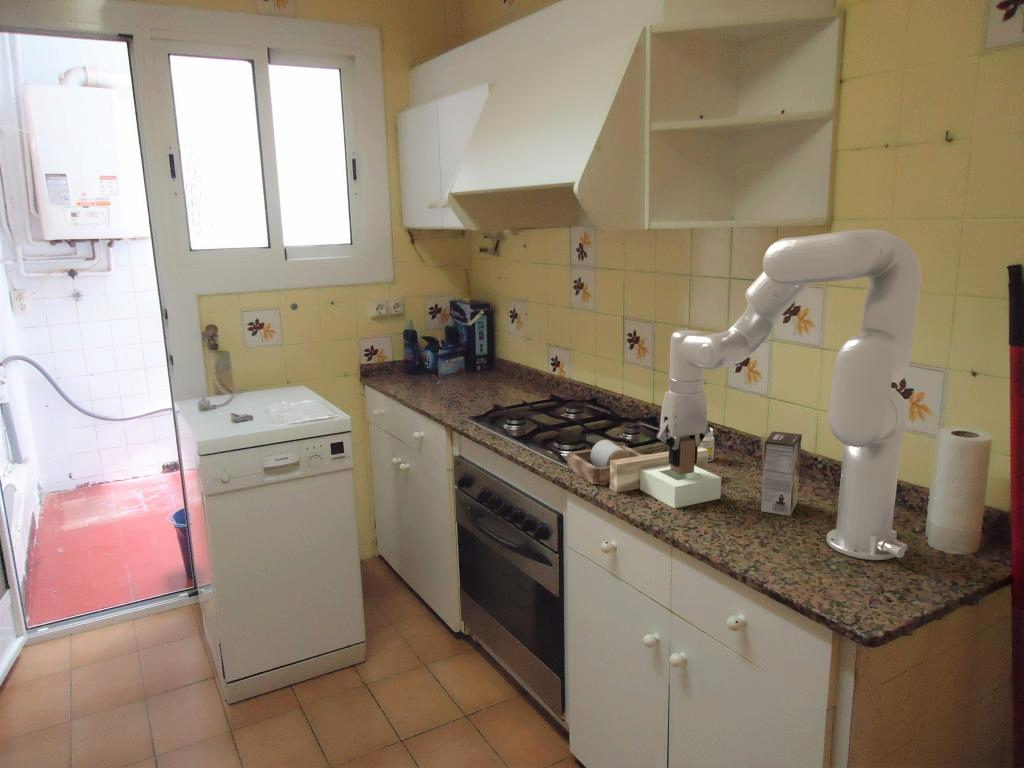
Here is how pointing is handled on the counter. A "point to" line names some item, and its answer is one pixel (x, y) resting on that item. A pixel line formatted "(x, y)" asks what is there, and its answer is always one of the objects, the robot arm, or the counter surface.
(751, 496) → the counter surface
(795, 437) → the coffee box
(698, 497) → the socket block
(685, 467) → the wooden block
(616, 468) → the birch wall
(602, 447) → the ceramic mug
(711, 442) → the supplement bottle
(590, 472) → the brown wooden tray
